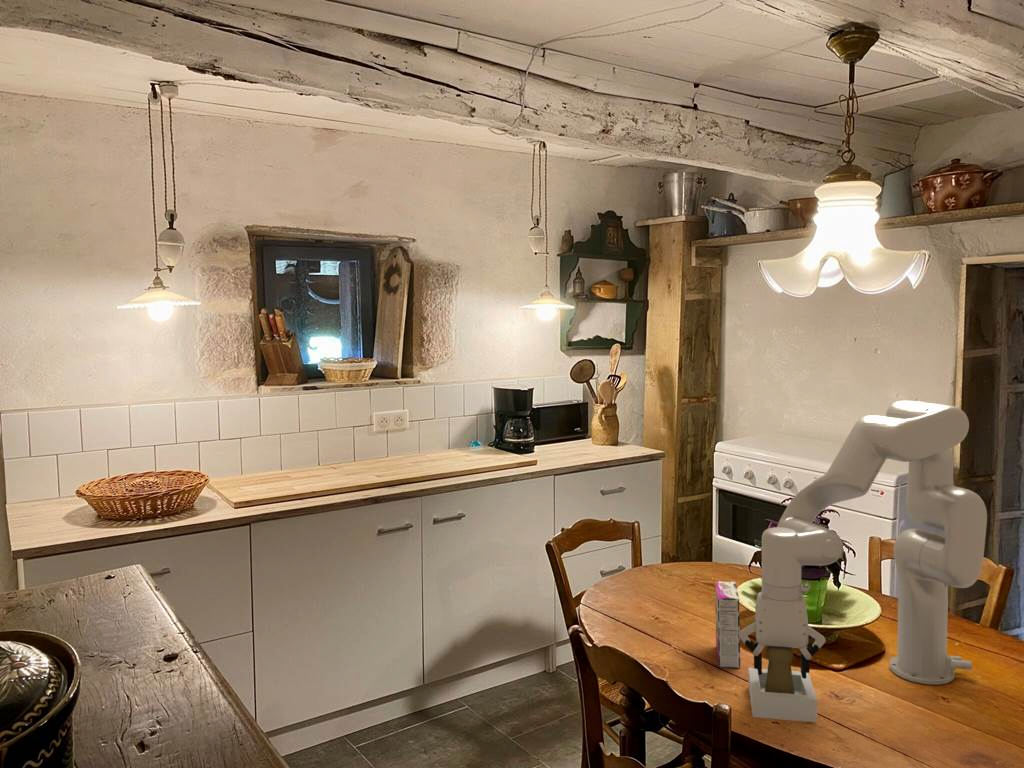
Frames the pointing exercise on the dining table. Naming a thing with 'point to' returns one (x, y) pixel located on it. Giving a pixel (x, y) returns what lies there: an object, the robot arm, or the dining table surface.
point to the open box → (782, 698)
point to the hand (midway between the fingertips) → (781, 673)
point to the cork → (779, 670)
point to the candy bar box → (727, 624)
